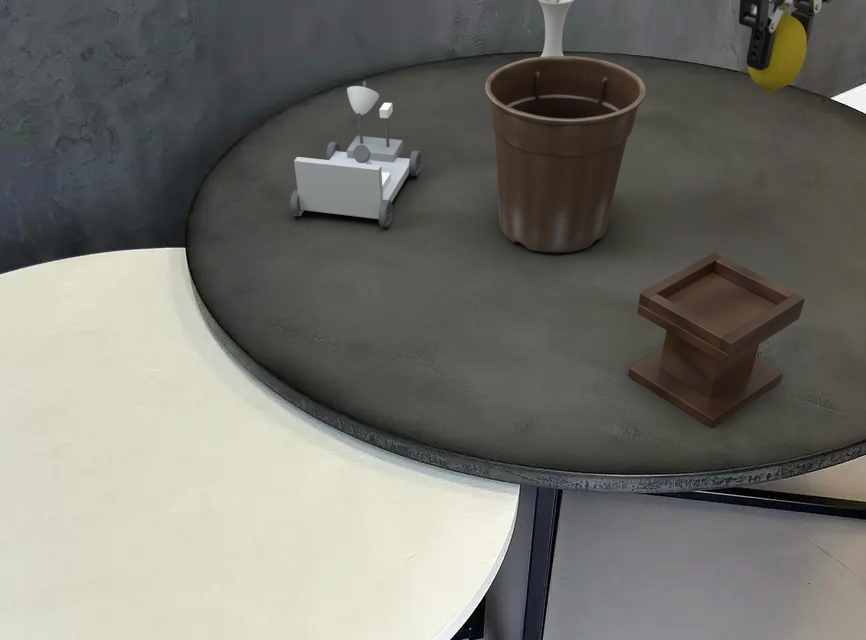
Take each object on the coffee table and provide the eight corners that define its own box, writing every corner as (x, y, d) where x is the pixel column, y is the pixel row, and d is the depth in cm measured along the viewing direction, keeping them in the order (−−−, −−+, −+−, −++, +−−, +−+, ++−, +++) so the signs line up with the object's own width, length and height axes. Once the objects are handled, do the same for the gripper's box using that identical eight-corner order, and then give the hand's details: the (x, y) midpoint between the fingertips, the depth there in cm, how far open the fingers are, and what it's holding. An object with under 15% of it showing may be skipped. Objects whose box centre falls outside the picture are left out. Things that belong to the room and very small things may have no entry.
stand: (780, 381, 92) (805, 297, 85) (711, 428, 88) (731, 343, 81) (696, 334, 98) (713, 251, 91) (627, 375, 93) (640, 292, 87)
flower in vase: (498, 91, 138) (504, -114, 120) (577, 82, 140) (594, -122, 122) (522, 131, 129) (532, -83, 111) (606, 122, 131) (629, -92, 113)
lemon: (731, 87, 105) (746, 7, 99) (777, 79, 106) (794, -1, 100) (759, 108, 101) (776, 26, 95) (806, 99, 102) (826, 17, 96)
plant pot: (598, 184, 119) (613, 46, 107) (648, 253, 108) (670, 107, 96) (467, 202, 117) (468, 63, 105) (504, 274, 106) (510, 128, 94)
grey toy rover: (334, 74, 120) (426, 82, 118) (341, 151, 127) (428, 160, 125) (280, 139, 108) (381, 150, 106) (291, 220, 115) (386, 232, 113)
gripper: (803, -109, 84) (761, 90, 96) (900, -142, 90) (849, 50, 102) (732, -125, 88) (700, 68, 100) (829, -155, 94) (788, 31, 106)
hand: (776, 58), depth 101 cm, fingers closed on lemon, 5 cm apart
